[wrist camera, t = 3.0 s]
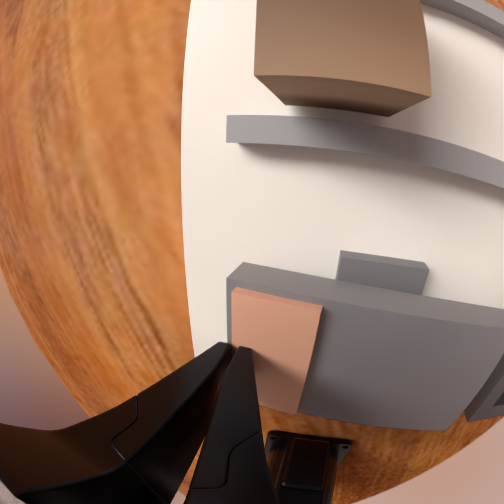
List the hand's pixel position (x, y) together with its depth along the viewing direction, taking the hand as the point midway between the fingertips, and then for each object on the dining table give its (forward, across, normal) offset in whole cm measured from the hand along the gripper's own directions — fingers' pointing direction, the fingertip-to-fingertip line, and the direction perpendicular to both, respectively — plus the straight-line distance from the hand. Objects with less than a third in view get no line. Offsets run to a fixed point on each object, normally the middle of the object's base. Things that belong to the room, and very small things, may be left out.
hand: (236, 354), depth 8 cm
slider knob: (+2, -2, -10) cm, 10 cm away
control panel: (+4, -8, -5) cm, 11 cm away
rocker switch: (+1, -4, 0) cm, 4 cm away
